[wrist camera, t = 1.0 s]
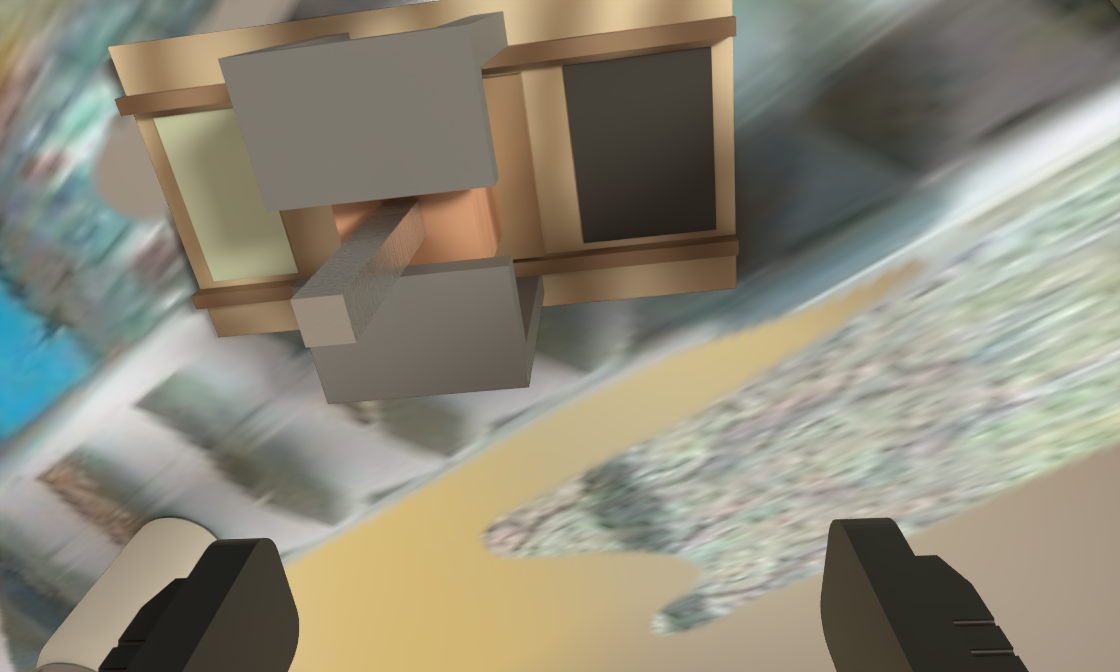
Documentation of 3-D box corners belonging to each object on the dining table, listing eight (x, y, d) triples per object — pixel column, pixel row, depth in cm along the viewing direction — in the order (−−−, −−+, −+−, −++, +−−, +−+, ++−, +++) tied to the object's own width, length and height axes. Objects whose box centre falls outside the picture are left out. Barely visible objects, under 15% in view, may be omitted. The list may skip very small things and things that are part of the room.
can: (142, 502, 50) (18, 646, 39) (234, 529, 51) (136, 677, 40) (136, 566, 53) (19, 716, 42) (223, 590, 54) (129, 744, 43)
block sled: (521, 72, 34) (459, 150, 19) (546, 249, 38) (512, 433, 23) (320, 97, 35) (106, 192, 20) (365, 268, 39) (216, 456, 24)
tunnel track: (726, -40, 33) (784, -47, 23) (731, 277, 40) (778, 382, 30) (125, 44, 36) (-64, 72, 26) (230, 326, 43) (114, 436, 33)
